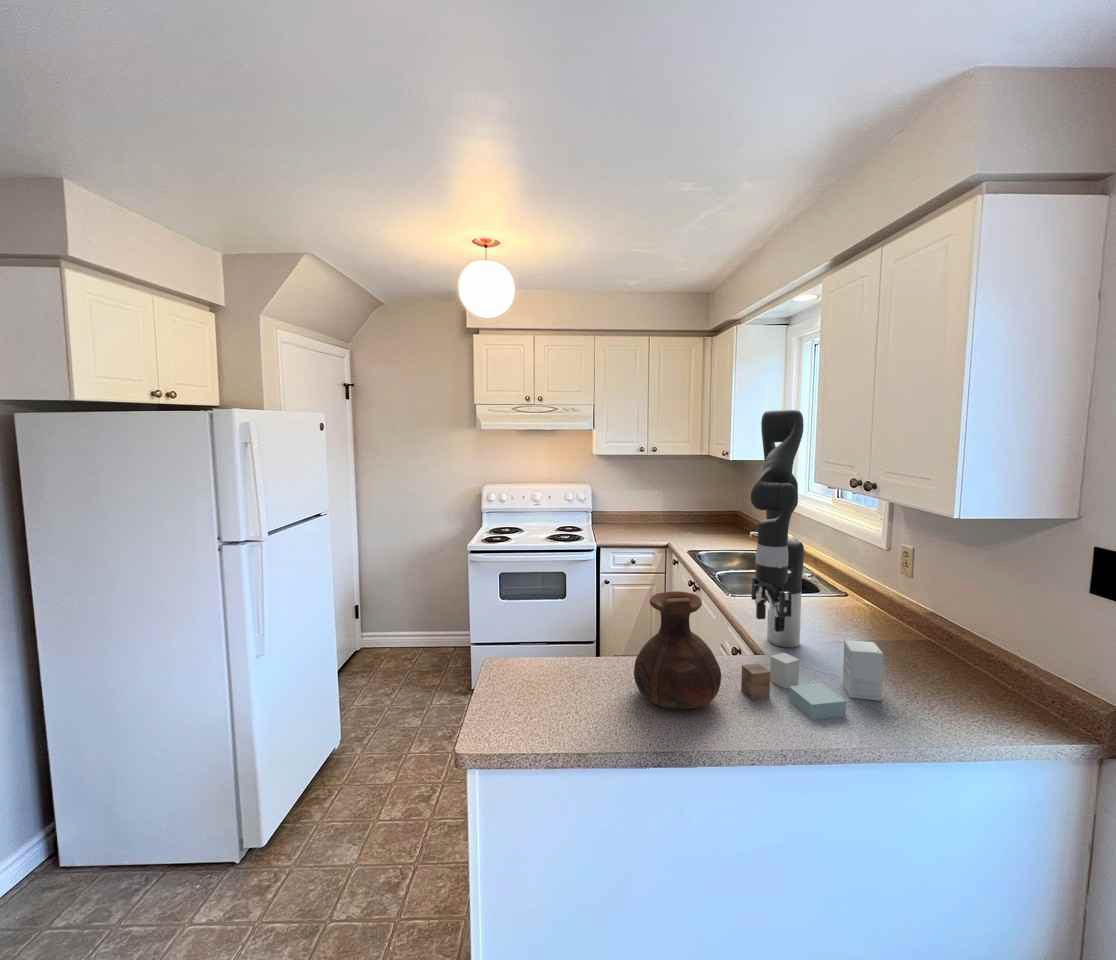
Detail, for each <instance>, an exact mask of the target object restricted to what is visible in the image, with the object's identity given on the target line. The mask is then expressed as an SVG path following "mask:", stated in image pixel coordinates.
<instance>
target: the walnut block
mask: <svg viewBox="0 0 1116 960" xmlns="http://www.w3.org/2000/svg"><path fill="white" fill-rule="evenodd" d="M740 687H741V689H740V691H741V692H742V693H743V694H744V695H746V697H748V699H750V700H751V701H755V700H764V699H765V700H766V699H770V697H771V696H770V693H771V691H770V690H771V681H770V670H769V669H767V668H766V667H765V666H763V665H762V664H761V663H752V664H751V663H750V664H742V665H741V684H740Z"/></svg>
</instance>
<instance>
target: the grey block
mask: <svg viewBox="0 0 1116 960" xmlns="http://www.w3.org/2000/svg"><path fill="white" fill-rule="evenodd" d="M769 671H770V683H771V682H772V683H773V684H775V685H776V686H780V687H781V688H782V689H789V686H797V685H800V683H799V682H800V681H799V678H800V676H799V675H800V659H798V658H796V657H794V656H792V655H790V654H788V653H786V652H781V653H778V654H773V655H771V656H770V670H769Z"/></svg>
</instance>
